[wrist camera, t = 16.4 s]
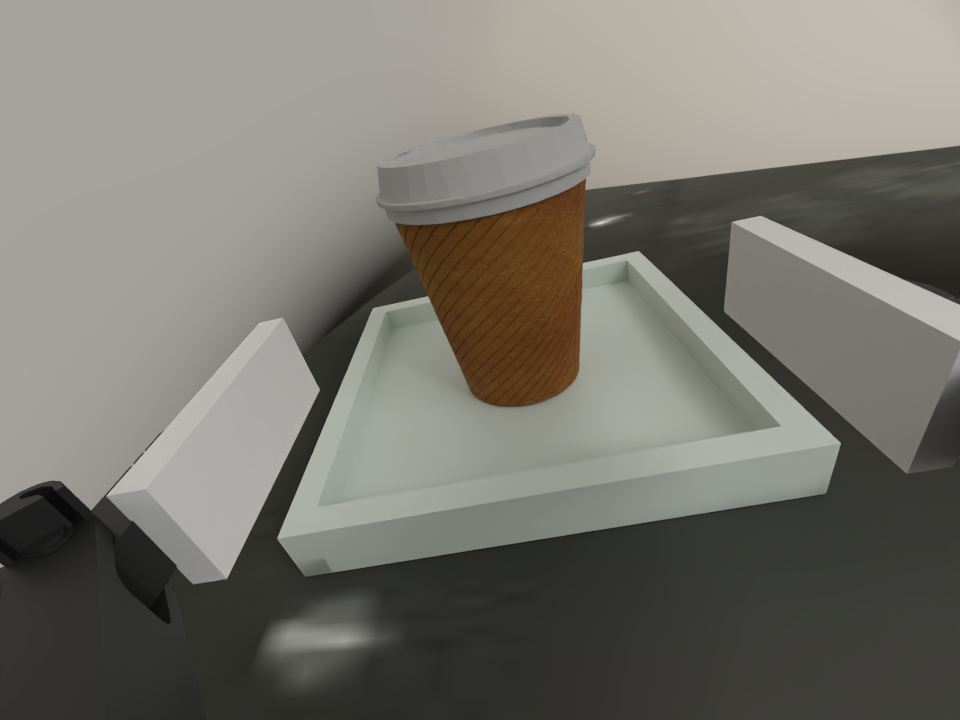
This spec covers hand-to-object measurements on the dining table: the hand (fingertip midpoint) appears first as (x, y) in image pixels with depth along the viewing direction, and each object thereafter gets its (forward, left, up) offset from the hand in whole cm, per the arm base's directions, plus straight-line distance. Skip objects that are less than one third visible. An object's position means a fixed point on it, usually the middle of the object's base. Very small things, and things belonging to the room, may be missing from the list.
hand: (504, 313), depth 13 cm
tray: (-7, -5, -9) cm, 13 cm away
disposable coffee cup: (-7, -5, -8) cm, 12 cm away
